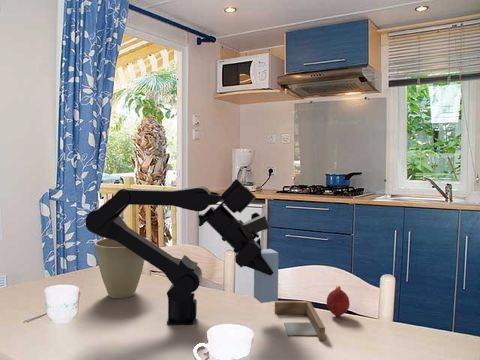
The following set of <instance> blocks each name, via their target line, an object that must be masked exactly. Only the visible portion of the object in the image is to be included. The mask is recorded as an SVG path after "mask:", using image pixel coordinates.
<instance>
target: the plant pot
mask: <svg viewBox="0 0 480 360" xmlns="http://www.w3.org/2000/svg"><path fill="white" fill-rule="evenodd" d="M94 247H95V252H96V258H97V263H98V264H97V265H98V268H99V272H100V275H101V278H102V282H103V284H104V287H105V290H106V292H107V295H108V297H110V298H112V299H126V298H131V297H132V296H134V295H135V293H136V291H137V288H138V285H139V283H140V279H141V275H142V272H143V269H144V264H145V260H144V259H143V258H141V257H140V256H138V255H137V254H135V253H134V252H132V251H131V250H129V249H128V248H126V247H124V246H123V245H121V244H120V243H118V242H117V241H115V240H111V239H107V238H102V239H99V240H97V241H95V242H94Z"/></svg>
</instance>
